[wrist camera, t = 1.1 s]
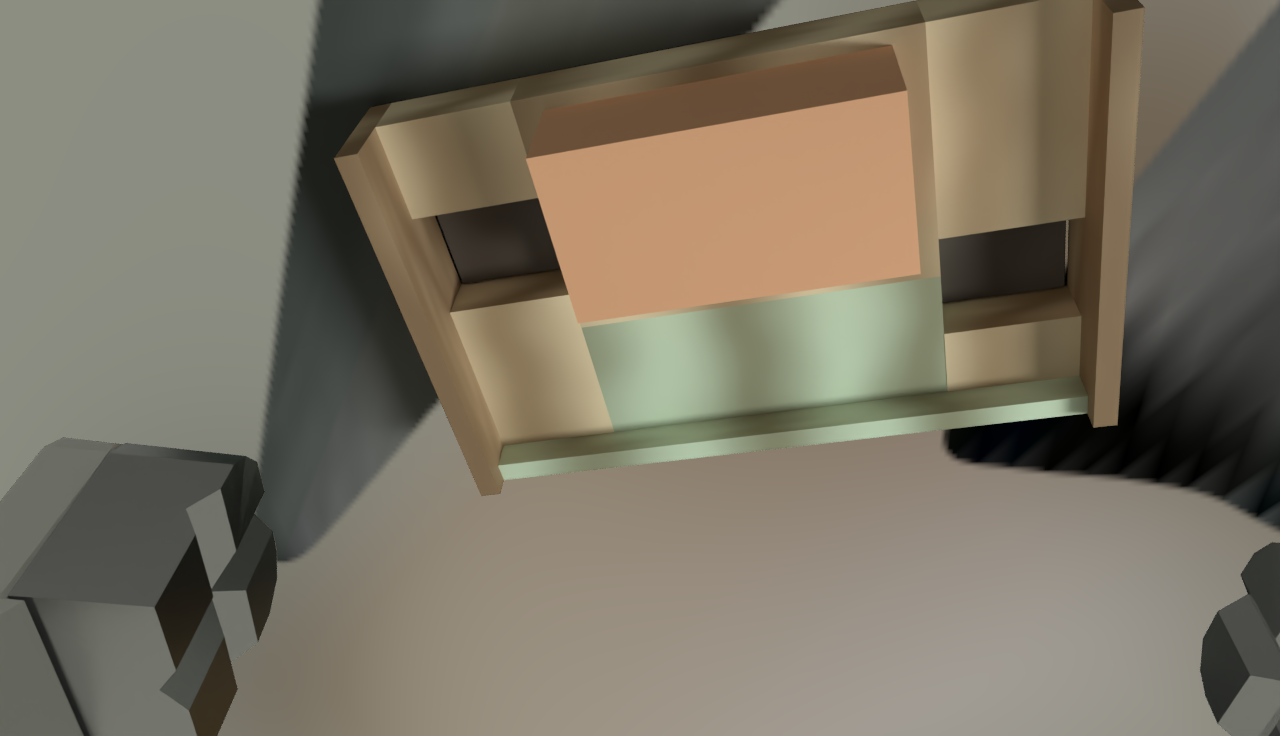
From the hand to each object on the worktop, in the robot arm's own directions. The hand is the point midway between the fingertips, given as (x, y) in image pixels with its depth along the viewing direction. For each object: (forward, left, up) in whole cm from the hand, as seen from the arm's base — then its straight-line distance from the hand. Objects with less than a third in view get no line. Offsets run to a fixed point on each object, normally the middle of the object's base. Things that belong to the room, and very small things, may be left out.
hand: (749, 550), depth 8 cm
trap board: (+2, +13, -27) cm, 30 cm away
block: (+2, +9, -25) cm, 26 cm away
